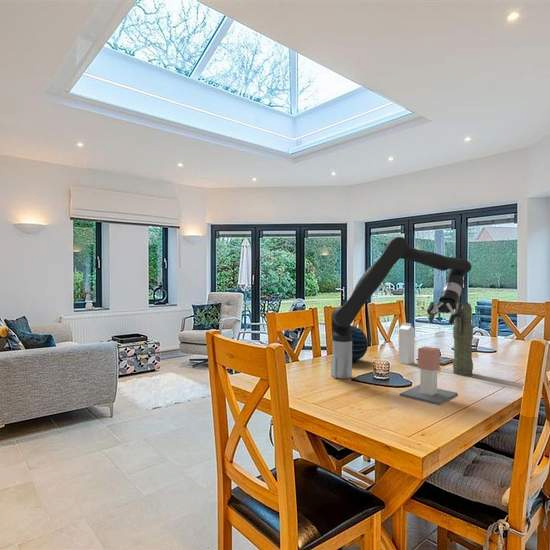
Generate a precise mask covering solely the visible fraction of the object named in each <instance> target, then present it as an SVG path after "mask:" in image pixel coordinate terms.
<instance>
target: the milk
mask: <svg viewBox="0 0 550 550" xmlns="http://www.w3.org/2000/svg"><path fill="white" fill-rule="evenodd" d="M398 363H400V364H404V365H410V364H414V363H415V328H414V327H413V326H412V323H410V322H401V325H400V327H398Z"/></svg>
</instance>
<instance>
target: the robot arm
mask: <svg viewBox="0 0 550 550" xmlns="http://www.w3.org/2000/svg"><path fill="white" fill-rule="evenodd" d="M384 248H385V249H384V251H383V253H382V254H381V255H380V256H379V258H378V259H377V260H376V261H375V262H374V263H373V264H371V266H370V267H368V269H367V270H366V271H365V272H364V273H363V274H362V276H361V277H360V278H359V280H358V281H357V283H356V285H355V287H354V289H353V291H352V294H351V295H350V297H349V298H348V299H347V301H346V302H344V304H343V305H340V306H337V307H335V308H333V310H332V311H331V336H332V337H333V349H332V355H330V376H332V378H334V379H342V380H345V379H351V378H353V362H352V334H351V329H350V326H351V324H352V323H354V320H355V319H356V317H357V316H358V314H359V313H360V311H361V310H362V308H363V307H364V305H365V304H367V302H368V301H369V299H371V297H372V296H373V294H375V292H376V291H377V290H378V288H379V287H380V286H381V285H382V283H383V282H384V281H385V279H386V278H387V276H388V274H389V273H390V271H392V269H393V267H394V265H395V264H396V263H397V262H398V261H399V260H400V259H401V260H402V259H403V260H406V261H412V262H415V263H419V264H421V265H424V266H427V267H429V268H432V269H435V270H438V271H443V272H445V271H447V270H449V271H448V275H447V280H446V282H445V285H444V287H443V289H442V292H441V293H440V297H439V300H438V301H437V303H436V302H435V303H434V301H431V302H430V303H429V305H428V307H427V310H426V312H427V314H428V315H429V316H428V318H427V319H428V321H429V322H430V323H433V321H434V318H435V316H437V315H440V314H449V313H450V317H449V320H448V323H449V325H453V324H454V323H455V318H456V317H461V315H462V311H463V305H462V303H460V304H459V305H457V303H458V302H459V299H460V297H461V294H462V289H463V287H464V283H465V281H464V280H465V279H464V277H465V276H467V274H469V272H470V271H471V270H472V264H471V262H469V260H467V259H466V258H462V257H455V256H454V257H453V256H451V257H450V256H446V255H442V254H440V253H437V252H433V251H428V250H423V249H417V248H414V247H411V246H409V242H408V240H407V239H406V238H404V237H402V236H395V237H393V238H391V239H390V240H388V241H387V243H386V244H385V247H384ZM456 308H457V309H458V310H457V313H455V309H456Z"/></svg>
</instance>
